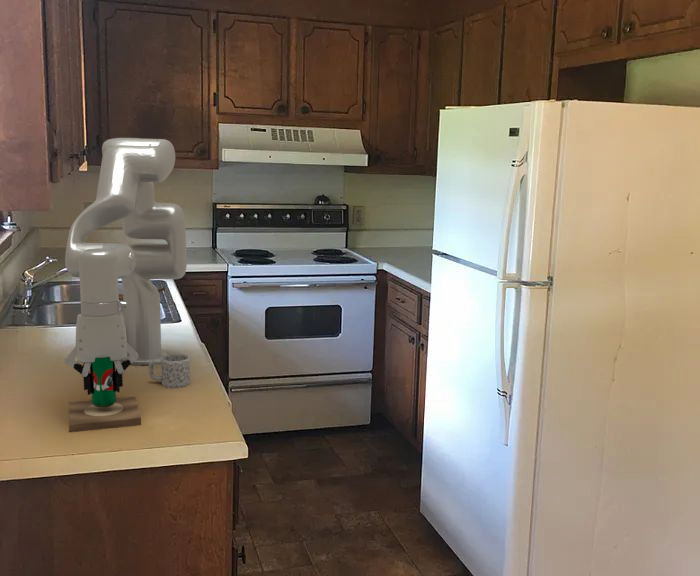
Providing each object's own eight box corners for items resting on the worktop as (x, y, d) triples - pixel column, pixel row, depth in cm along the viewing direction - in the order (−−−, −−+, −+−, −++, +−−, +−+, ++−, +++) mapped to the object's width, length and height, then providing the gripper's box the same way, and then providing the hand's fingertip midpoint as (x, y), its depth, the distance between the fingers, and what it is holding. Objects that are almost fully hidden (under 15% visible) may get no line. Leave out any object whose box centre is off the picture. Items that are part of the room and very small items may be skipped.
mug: (193, 380, 185) (192, 354, 183) (185, 388, 178) (185, 362, 177) (153, 378, 185) (153, 352, 184) (144, 387, 179) (144, 360, 177)
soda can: (119, 400, 161) (117, 346, 158) (112, 408, 156) (110, 353, 153) (95, 399, 161) (93, 346, 158) (88, 407, 156) (85, 352, 153)
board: (69, 408, 163) (68, 401, 162) (135, 402, 167) (135, 395, 167) (69, 432, 150) (69, 424, 149) (141, 424, 155) (140, 416, 154)
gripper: (140, 302, 161) (143, 382, 164) (56, 306, 155) (60, 389, 158) (144, 309, 154) (146, 393, 157) (55, 314, 148) (60, 401, 151)
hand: (103, 390), depth 158 cm, fingers closed on soda can, 5 cm apart
